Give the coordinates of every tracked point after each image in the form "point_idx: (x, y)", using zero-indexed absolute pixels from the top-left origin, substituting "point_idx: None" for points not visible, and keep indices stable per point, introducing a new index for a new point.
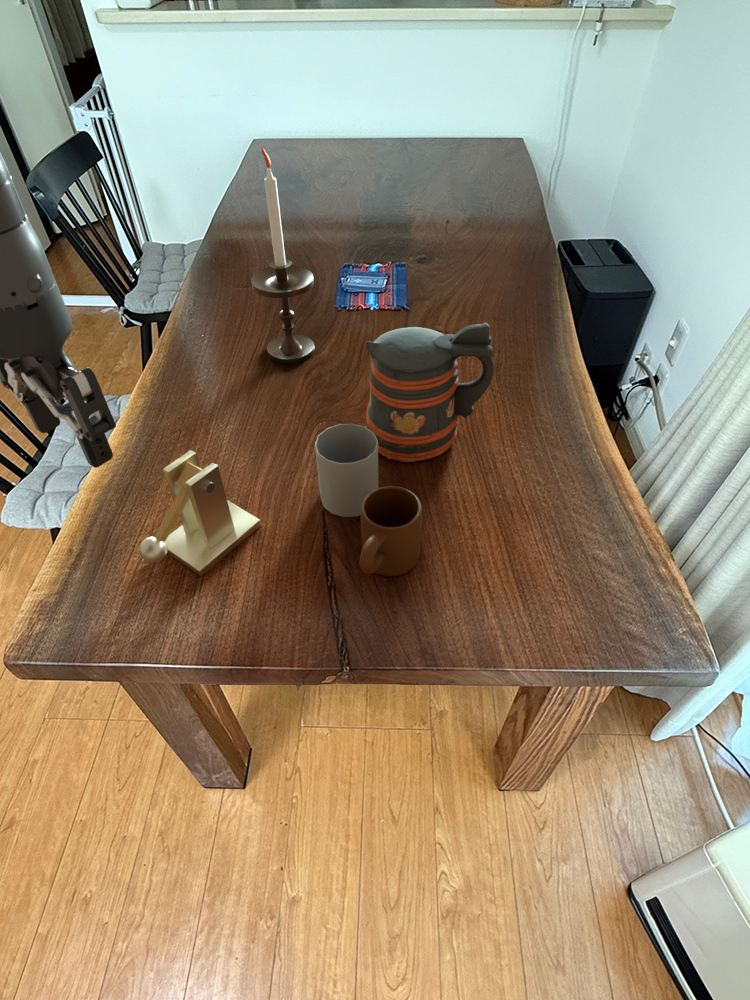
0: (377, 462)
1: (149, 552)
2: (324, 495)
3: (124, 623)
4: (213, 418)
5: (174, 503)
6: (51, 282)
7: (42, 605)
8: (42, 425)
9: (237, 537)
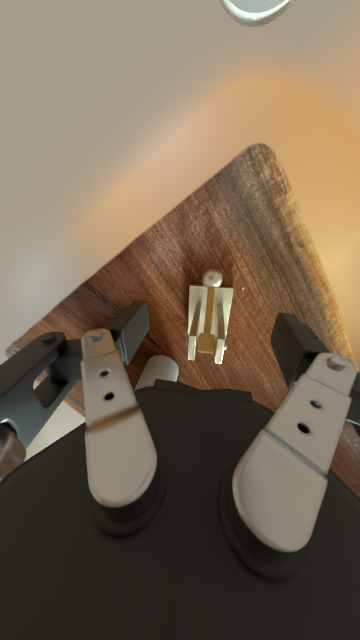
0: None
1: (207, 274)
2: (164, 363)
3: (206, 223)
4: (286, 387)
5: (210, 317)
6: None
7: (281, 190)
8: (280, 324)
9: (189, 317)
